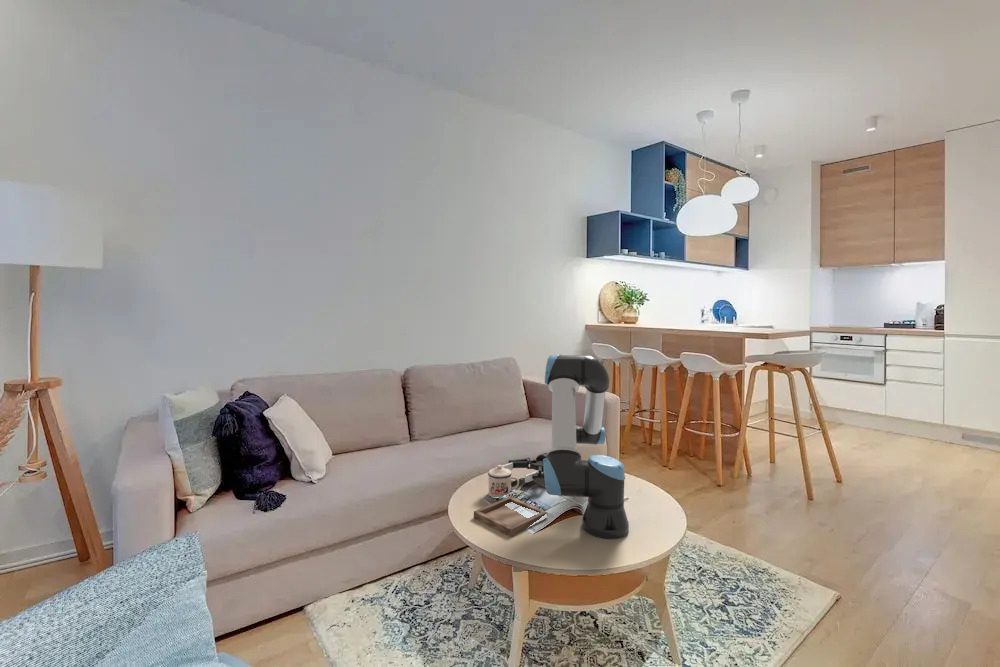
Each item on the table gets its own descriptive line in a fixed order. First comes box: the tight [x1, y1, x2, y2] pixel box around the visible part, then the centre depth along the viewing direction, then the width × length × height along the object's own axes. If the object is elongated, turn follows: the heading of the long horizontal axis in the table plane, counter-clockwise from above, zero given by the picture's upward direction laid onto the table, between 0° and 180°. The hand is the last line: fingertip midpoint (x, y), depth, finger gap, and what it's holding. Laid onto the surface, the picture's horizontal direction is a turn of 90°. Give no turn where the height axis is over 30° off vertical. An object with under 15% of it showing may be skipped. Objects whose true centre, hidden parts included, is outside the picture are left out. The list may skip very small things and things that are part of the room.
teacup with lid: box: [487, 464, 520, 498], centre depth 181 cm, size 12×9×12 cm
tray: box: [473, 496, 548, 537], centre depth 162 cm, size 18×18×2 cm
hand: (513, 474), depth 185 cm, fingers open, 13 cm apart
